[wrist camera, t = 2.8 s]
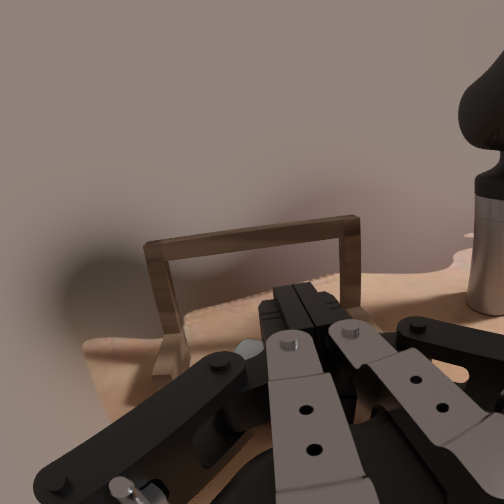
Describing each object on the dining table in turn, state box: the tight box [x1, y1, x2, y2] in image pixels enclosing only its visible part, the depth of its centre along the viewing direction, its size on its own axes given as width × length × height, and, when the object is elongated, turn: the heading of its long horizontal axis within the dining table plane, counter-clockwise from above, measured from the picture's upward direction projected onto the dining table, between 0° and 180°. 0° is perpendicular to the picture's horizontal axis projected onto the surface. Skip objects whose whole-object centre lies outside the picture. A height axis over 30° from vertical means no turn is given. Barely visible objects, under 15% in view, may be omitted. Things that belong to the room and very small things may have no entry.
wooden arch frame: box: [143, 215, 384, 392], centre depth 31 cm, size 10×24×16 cm, turn 95°
